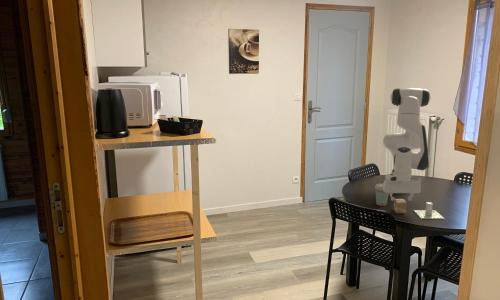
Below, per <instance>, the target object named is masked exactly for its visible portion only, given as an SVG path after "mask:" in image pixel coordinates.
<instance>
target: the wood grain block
mask: <svg viewBox="0 0 500 300" xmlns="http://www.w3.org/2000/svg"><path fill="white" fill-rule="evenodd" d="M393 211H394V212H395V214H406V213H407V201H406V200H405V199H404V198H394V201H393Z"/></svg>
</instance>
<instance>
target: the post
mask: <svg viewBox="0 0 500 300" xmlns="http://www.w3.org/2000/svg"><path fill="white" fill-rule="evenodd" d="M433 205H434V203H433V202H430V201H426V202H425V209H413V212H414V214H416V215H417V216H418V217H419V219H421V220H445V217H444V216H442V215H441V214H440V213H439V212H438V211H437V210H433Z"/></svg>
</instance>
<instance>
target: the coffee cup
mask: <svg viewBox="0 0 500 300" xmlns="http://www.w3.org/2000/svg"><path fill="white" fill-rule="evenodd" d="M383 183H384V182H382V183H376V184H375V185H374V190H375V203H376V205H377V206H380V207H384V206H387V205H388V199H389V193H385V192H384V191H383Z"/></svg>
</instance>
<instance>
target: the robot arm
mask: <svg viewBox="0 0 500 300" xmlns="http://www.w3.org/2000/svg"><path fill="white" fill-rule="evenodd" d="M390 101H391V104H392V105H393V106H396V107H398V110H397V111H398V112H397V118H396V125H397V126H398V128H400V129H403V130H404V131H405V132H391V133H386V134H385V135H384V137H383V139H382V144H383V146H384V147H385V148H386V149H387V150H388V151H389V152H390V153H391V155H392V161H393V164H392V165H393V166H392V170H391V173H387V174H386V175H385V176H384V177H385V179H384V181H383V182H382V183H383V191H384V192H385V193H389V194H388V196H389V197H390V201H392V202H394V199H395V197H394V196H393V194H409V196H407V201H409V202H412V198H413V197H414V196H415V194H420V193H421V192H422V190H421V189H422V186H421V184H422V178H421V177H419V176H412V170H418V171H426V170H427V169H428V168H429V167H430V165H431V157H430V153H429V148H428V138H427V129H426V125H424V124H423V123H422V121H421V118H420V117H421V115H420V114H421V107H426V106H427V105H429V103H430V102H431V93H430V91H429V90H428V89H426V88H417V87H415V88H414V87H408V88H406V87H405V88H399V87H398V88H394V89H393V90H392V92H391V94H390ZM412 150H420V151H417V152H416V151H412Z"/></svg>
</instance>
